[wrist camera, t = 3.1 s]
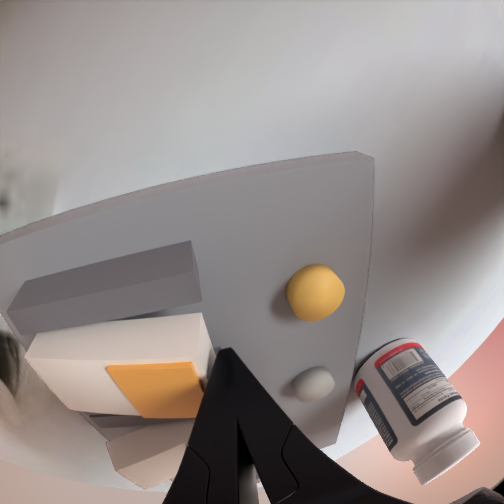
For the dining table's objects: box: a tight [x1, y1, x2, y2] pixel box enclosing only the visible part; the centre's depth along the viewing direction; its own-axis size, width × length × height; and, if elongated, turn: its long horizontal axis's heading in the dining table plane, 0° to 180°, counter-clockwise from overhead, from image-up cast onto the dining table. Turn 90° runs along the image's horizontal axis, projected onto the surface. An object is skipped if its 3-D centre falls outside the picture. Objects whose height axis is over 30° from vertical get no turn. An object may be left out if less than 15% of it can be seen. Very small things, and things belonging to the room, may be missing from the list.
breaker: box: [106, 419, 195, 489], centre depth 11 cm, size 6×3×2 cm, turn 99°
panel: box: [0, 151, 374, 449], centre depth 13 cm, size 15×22×3 cm
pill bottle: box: [354, 338, 480, 485], centre depth 14 cm, size 5×5×9 cm
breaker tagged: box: [24, 313, 216, 418], centre depth 8 cm, size 6×3×2 cm, turn 98°
